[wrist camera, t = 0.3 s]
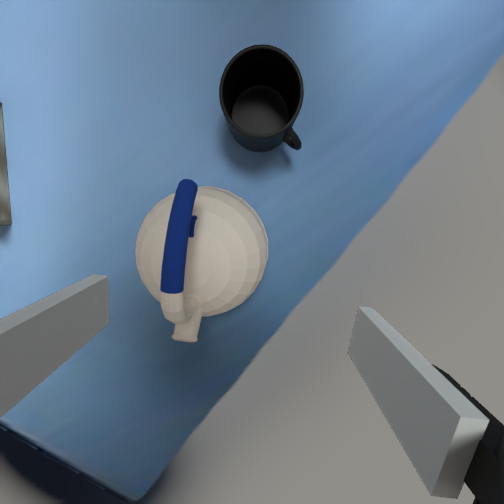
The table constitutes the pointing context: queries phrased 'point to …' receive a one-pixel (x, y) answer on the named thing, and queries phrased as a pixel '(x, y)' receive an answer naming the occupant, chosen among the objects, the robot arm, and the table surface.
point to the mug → (262, 98)
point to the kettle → (200, 254)
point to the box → (3, 179)
